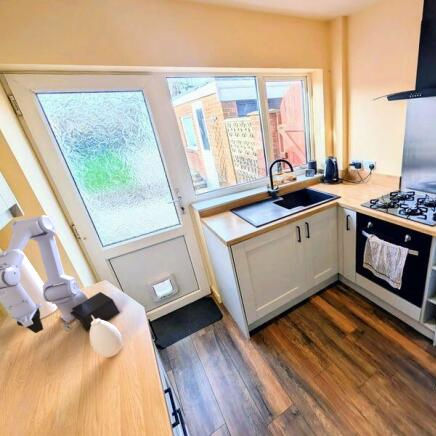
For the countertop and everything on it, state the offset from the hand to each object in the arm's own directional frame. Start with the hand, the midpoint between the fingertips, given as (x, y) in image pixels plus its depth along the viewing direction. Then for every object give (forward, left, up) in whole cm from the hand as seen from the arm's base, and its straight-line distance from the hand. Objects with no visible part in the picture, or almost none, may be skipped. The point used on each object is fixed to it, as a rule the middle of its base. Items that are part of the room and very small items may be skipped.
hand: (39, 330), depth 87 cm
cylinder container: (-6, -30, -10) cm, 32 cm away
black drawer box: (-16, 0, -9) cm, 19 cm away
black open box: (-12, 0, -8) cm, 15 cm away
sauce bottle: (-10, +24, -10) cm, 28 cm away
